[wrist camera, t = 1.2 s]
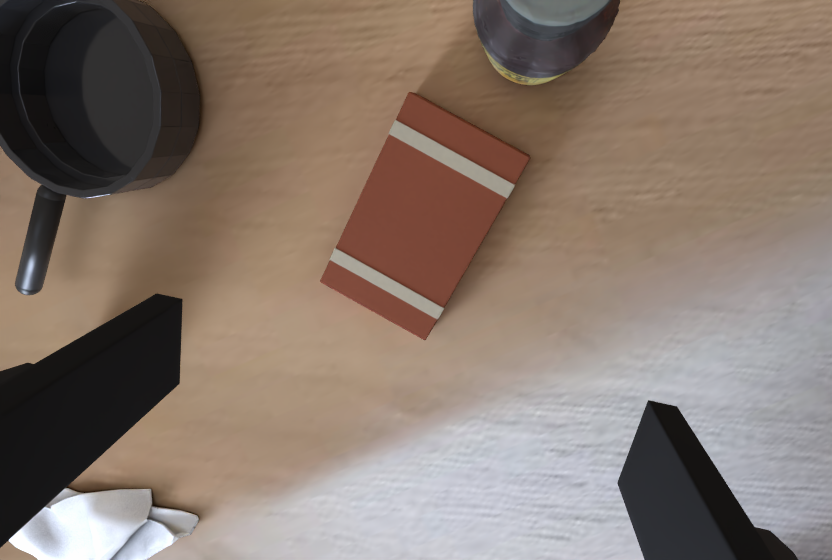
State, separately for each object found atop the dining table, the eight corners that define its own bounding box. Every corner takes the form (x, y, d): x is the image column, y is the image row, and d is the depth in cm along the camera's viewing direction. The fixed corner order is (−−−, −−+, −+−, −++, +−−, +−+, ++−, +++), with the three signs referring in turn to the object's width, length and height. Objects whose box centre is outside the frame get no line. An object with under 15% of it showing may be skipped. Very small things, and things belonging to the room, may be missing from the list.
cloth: (-16, 551, 59) (-36, 567, 56) (-34, 444, 54) (-57, 457, 52) (201, 610, 55) (189, 630, 53) (200, 499, 51) (185, 516, 48)
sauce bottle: (469, 14, 35) (408, -113, 16) (561, -40, 33) (615, -255, 14) (510, 108, 36) (500, 94, 17) (601, 61, 34) (703, -13, 15)
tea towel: (530, 155, 36) (530, 157, 34) (429, 331, 41) (425, 341, 39) (414, 92, 37) (408, 91, 35) (328, 274, 42) (318, 282, 40)
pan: (229, 48, 38) (188, 38, 33) (170, 220, 43) (127, 233, 38) (59, -45, 38) (-5, -68, 34) (20, 136, 43) (-42, 138, 39)
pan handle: (53, 176, 40) (33, 179, 38) (74, 188, 40) (54, 191, 38) (27, 284, 43) (7, 290, 42) (46, 295, 43) (26, 302, 42)
